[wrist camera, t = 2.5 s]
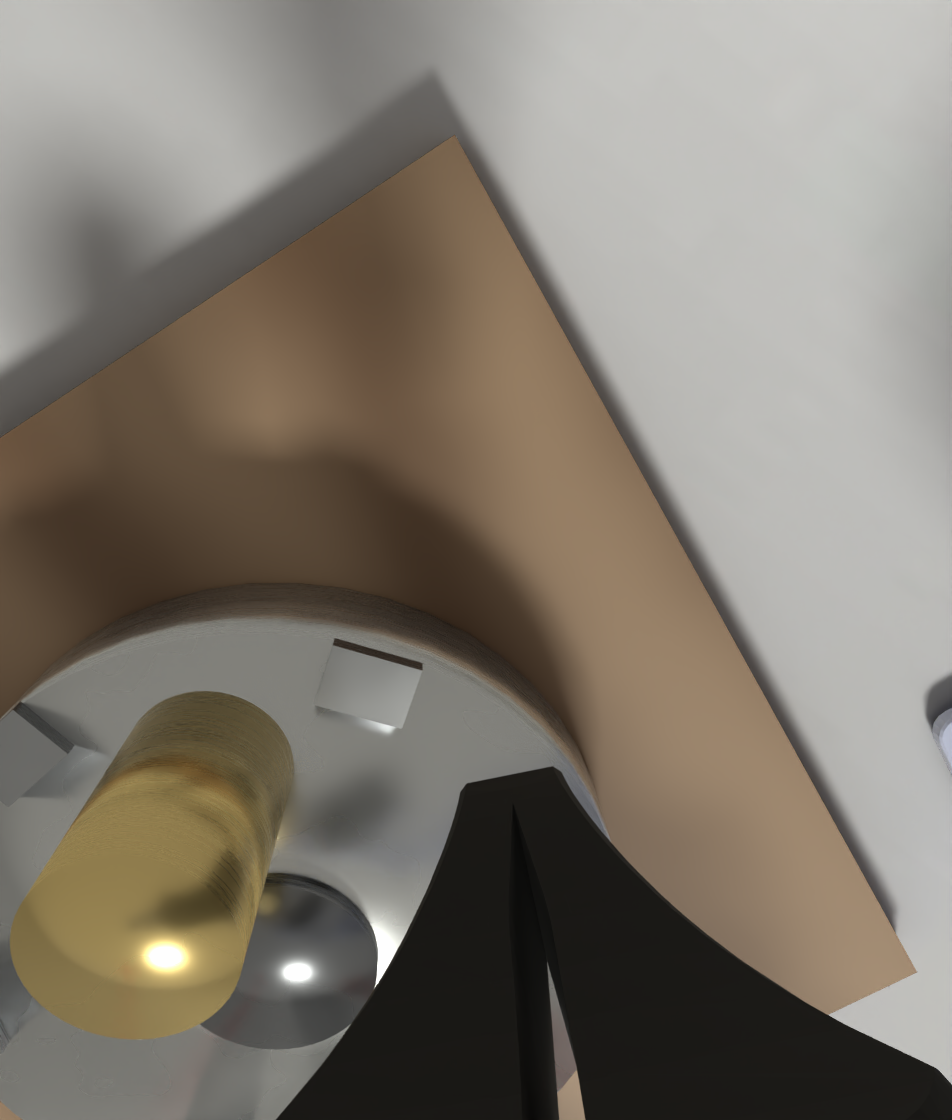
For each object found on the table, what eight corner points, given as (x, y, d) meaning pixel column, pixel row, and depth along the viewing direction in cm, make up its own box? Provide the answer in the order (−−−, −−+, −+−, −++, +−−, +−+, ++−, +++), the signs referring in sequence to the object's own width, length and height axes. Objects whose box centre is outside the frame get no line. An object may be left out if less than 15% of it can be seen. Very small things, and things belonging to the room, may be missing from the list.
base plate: (453, 142, 16) (455, 131, 14) (896, 942, 22) (923, 981, 21) (-413, 718, 19) (-472, 750, 17) (209, 1274, 25) (198, 1326, 24)
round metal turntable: (548, 519, 17) (622, 683, 10) (640, 1041, 22) (732, 1384, 15) (-136, 658, 17) (-487, 904, 11) (100, 1145, 22) (-44, 1526, 15)
